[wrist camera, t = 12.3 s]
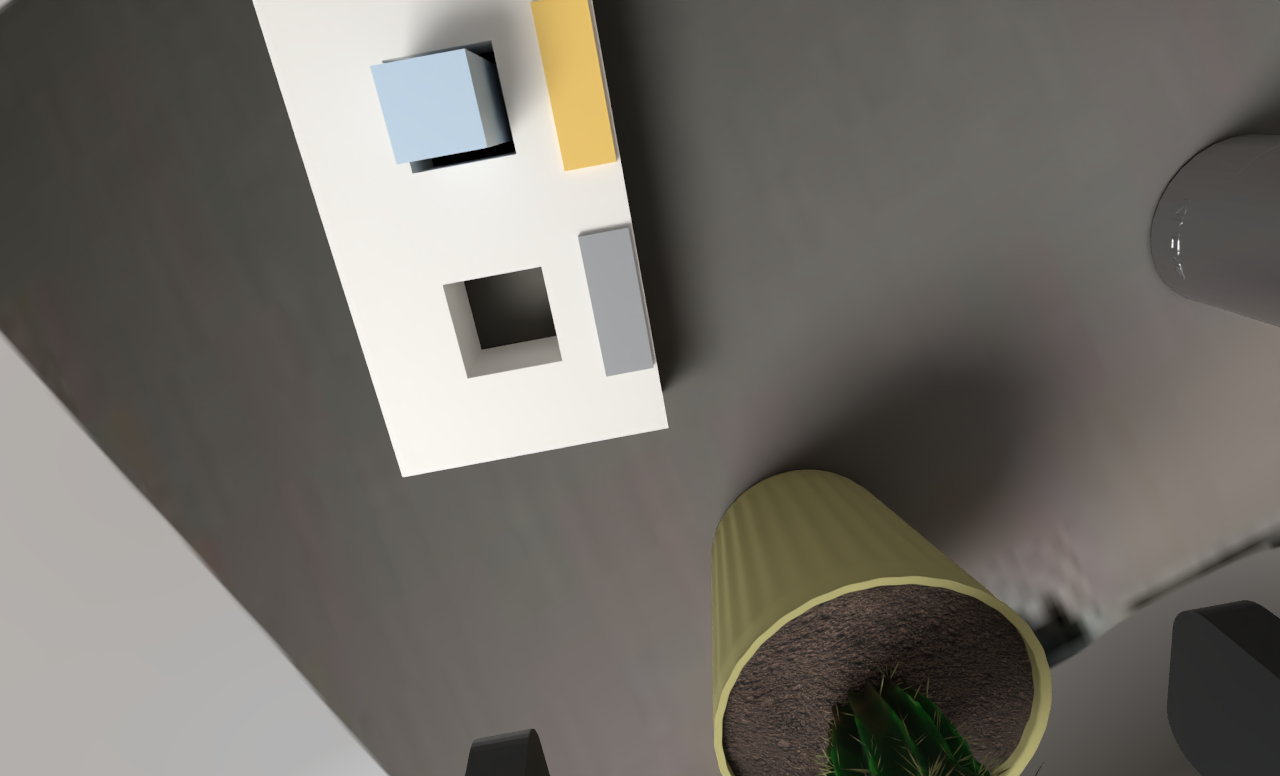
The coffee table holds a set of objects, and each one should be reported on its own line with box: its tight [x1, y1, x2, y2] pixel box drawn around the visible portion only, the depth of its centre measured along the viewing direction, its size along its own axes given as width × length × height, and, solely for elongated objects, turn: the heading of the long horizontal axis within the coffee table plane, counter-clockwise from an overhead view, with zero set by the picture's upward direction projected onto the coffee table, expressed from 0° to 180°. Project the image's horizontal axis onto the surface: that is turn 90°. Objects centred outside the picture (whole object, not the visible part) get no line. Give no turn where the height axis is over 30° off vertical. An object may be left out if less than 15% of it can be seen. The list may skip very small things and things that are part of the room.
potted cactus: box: [712, 470, 1052, 776], centre depth 34 cm, size 15×15×30 cm
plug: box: [370, 48, 513, 164], centre depth 34 cm, size 4×4×10 cm
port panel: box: [253, 0, 668, 477], centre depth 38 cm, size 14×24×5 cm, turn 10°
